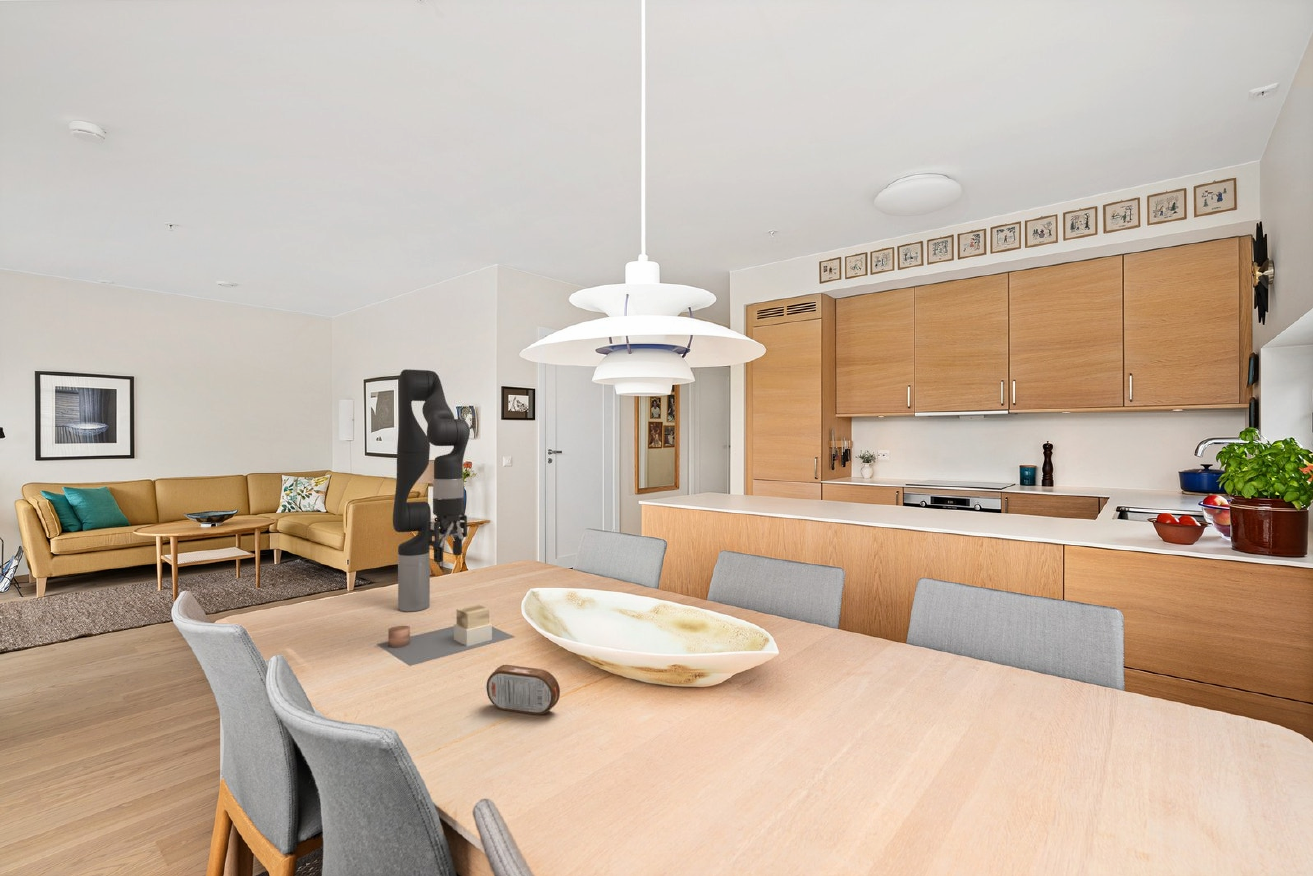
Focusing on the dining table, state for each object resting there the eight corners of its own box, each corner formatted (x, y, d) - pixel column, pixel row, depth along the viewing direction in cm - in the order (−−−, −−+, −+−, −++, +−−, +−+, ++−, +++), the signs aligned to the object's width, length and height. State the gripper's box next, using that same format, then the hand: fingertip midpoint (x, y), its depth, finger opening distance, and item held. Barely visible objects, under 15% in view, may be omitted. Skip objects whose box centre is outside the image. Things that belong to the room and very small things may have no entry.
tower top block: (456, 624, 156) (456, 609, 156) (477, 619, 160) (477, 604, 160) (467, 629, 152) (467, 613, 152) (489, 624, 156) (489, 609, 156)
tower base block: (453, 639, 156) (453, 624, 156) (478, 633, 161) (478, 618, 161) (466, 646, 151) (466, 630, 151) (491, 639, 156) (491, 624, 156)
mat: (376, 648, 152) (376, 644, 152) (477, 623, 172) (477, 620, 172) (409, 670, 138) (409, 665, 138) (515, 640, 158) (515, 636, 158)
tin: (560, 712, 118) (560, 669, 118) (553, 719, 114) (553, 675, 114) (492, 703, 122) (492, 661, 122) (483, 709, 119) (483, 667, 119)
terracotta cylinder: (385, 644, 153) (385, 628, 152) (404, 639, 156) (404, 624, 156) (393, 649, 149) (393, 633, 149) (413, 644, 153) (412, 628, 153)
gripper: (451, 492, 163) (451, 552, 163) (418, 498, 149) (418, 563, 149) (475, 493, 161) (475, 553, 162) (445, 499, 148) (445, 565, 148)
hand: (448, 558), depth 155 cm, fingers open, 8 cm apart
